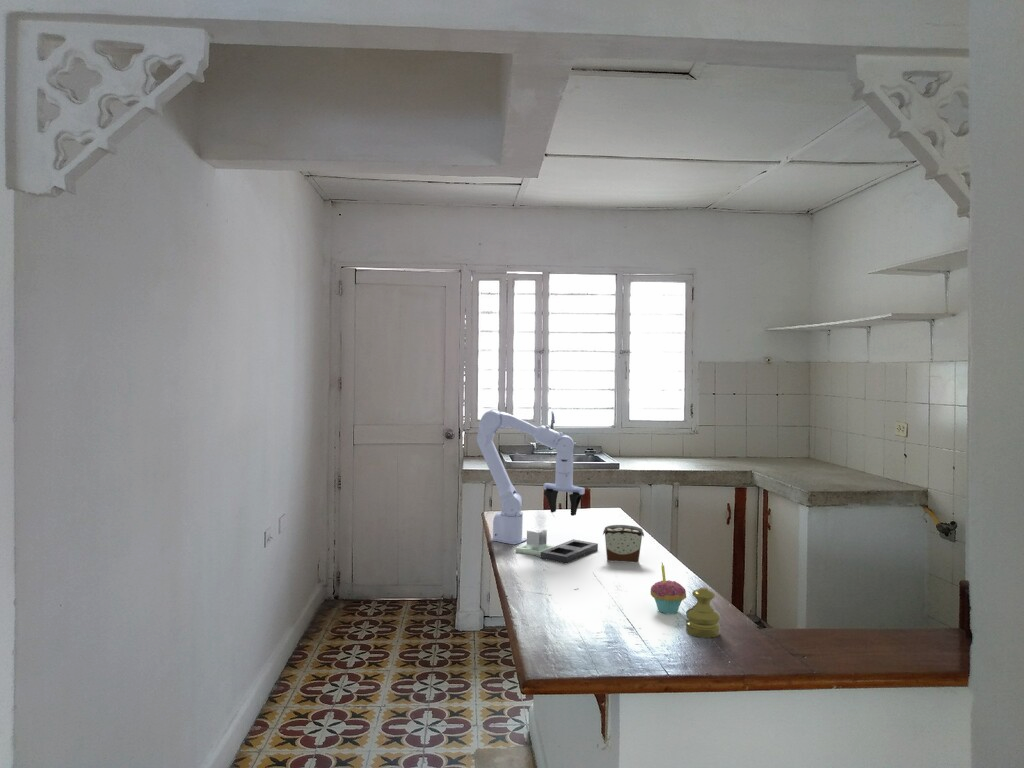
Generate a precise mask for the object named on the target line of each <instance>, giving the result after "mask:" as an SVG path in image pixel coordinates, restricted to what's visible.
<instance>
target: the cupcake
mask: <svg viewBox="0 0 1024 768" xmlns="http://www.w3.org/2000/svg"><path fill="white" fill-rule="evenodd" d="M661 576H662V580H660V581H657V582H655V583H654V584H653V585H651V587H650V595H651V597H652V598H653V599H654V601H655V603H656V607H657V608H656V609H657V610H659V611H658V612H660V613H662V612H663V614H667V613H669V615H672V614H673V613H674V614H677V613H678V612H679V609H680V606H681V604H682V601H684V600H686V598H687V590H686V588H685V587H684V586H683V585H681V584H680V583H679V582H677V580H675V581H674V580H673V581H672V580H666V579H667V578H666V571H665V565H664V564H663V562H661Z"/></svg>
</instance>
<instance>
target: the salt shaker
mask: <svg viewBox="0 0 1024 768" xmlns="http://www.w3.org/2000/svg"><path fill="white" fill-rule="evenodd" d="M691 595H692V596H693V597H694V598H695V599H696V601H697V602H696V603H695V604H694V605H693V606H692V607H690V608H688V609H687V610H686V612H685V613H686V614H685V615H686V618H687V619H686V621H685V631H686V632H687V633H688V634H689V635H690V636H693V635H694V636H693V637H696V636H697V638H700V637H706V638H705V639H712V638H711V637H714V638H717V637H719V636H720V634H721V624H720V623H719V622H720V621H721V614H720V613H719V612H718V610H715V608H714V606H712V605H711V603H710V602H711V601H712V600H713V599H715V598H716V593H715V592H714V591H712V590H711V589H709V588H708V587H703V586H702V587H699V588H696V589H695V590H693V591H692V594H691ZM716 636H717V637H716Z"/></svg>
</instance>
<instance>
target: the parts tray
mask: <svg viewBox="0 0 1024 768" xmlns="http://www.w3.org/2000/svg"><path fill="white" fill-rule="evenodd" d="M555 546H556V545H555ZM555 546H554V545H550V544H546V549H544V550H547V549H550V548H552V547H555ZM544 550H541V551H536V550H531V549H527V543H525V544H522V545H520V546H517V547H515V552H516V553H520V554H524V555H529V554H530V555H529V556H534V555H536V556H535V557H539V556H541V552H542V551H544Z"/></svg>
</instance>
